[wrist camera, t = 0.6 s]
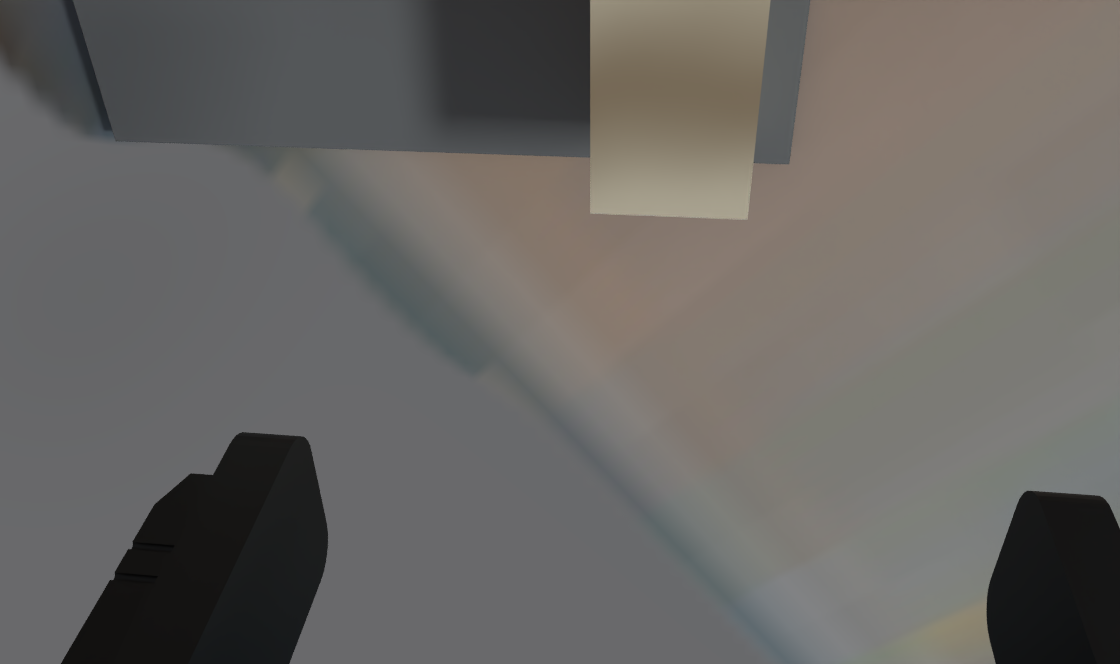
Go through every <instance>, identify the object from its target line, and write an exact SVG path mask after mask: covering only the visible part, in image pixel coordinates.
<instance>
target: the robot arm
mask: <svg viewBox="0 0 1120 664" xmlns="http://www.w3.org/2000/svg"><path fill="white" fill-rule="evenodd" d="M327 548H328V531H327V523H326V518H325V513H324V509H323V504H322V499H321V495H320V489H319V485H318V480H317V476H316V471H315V466H314V461H313V456H312V452H311V448H310V445H309V442H308V441H307V439H306V438H305V437H301V436H288V435H274V434H260V433H246V432H245V433H244V432H242V433H239V434H238V435H236V436H235V438H234V439H233V440H232V442H231V443H230V445H229V447H228V449H227V450H226V452H225V454H224V456H223V458H222V460H221V461H220V464H219V465H218V467H217V469H216V471H215V473H214V474H213V475H204V474H190V475H188V476H187V477H186V478H185V479H184V480H183V481H182V482H180V483H179V484H178V485H177V486H176V487H174V488H173V489H172V490H171V491H170V492H169V493H168V494H167V495H165V496H164V497H163V498H162V499H160V500H159V501H158V502H157V503H156V504H155V505H154V506H153V508H152V510H151V511H150V513H149V515H148V517H147V518H146V520H145V522H144V523H143V525H142V527H141V529H140V530H139V532H138V534H137V535H136V537H135V539H134V540H133V547H132V549H128V550H127V552H126V554H125V556H124V557H123V559H122V561H121V563H120V564H119V566H118V568H117V569H116V571H115V578H114V580H110V581H109V583H108V584H107V586H106V588H105V590H104V591H103V593H102V595H101V596H100V598H99V600H98V601H97V603H96V605H95V607H94V609H93V610H92V612H91V614H90V615H89V617H88V619H87V620H86V622H85V624H84V625H83V627H82V629H81V630H80V632H79V634H78V635H77V637H76V639H75V641H74V642H73V644H72V646H71V647H70V649H69V651H68V652H67V654H66V656H65V657H64V659H63V661H62V663H61V664H289V663H290V660H291V658H292V655H293V652H294V650H295V647H296V644H297V642H298V639H299V636H300V634H301V631H302V629H303V626H304V624H305V621H306V618H307V616H308V613H309V610H310V608H311V605H312V603H313V600H314V597H315V594H316V592H317V589H318V587H319V584H320V582H321V578H322V576H323V572H324V568H325V563H326V557H327ZM987 626H988V633H989V638H990V643H991V647H992V651H993V654H994V658H995V662H996V664H1120V528H1119V526H1118V524H1117V521H1116V519H1115V517H1114V514H1113V512H1112V510H1111V508H1110V506H1109V504H1108V503H1107V501H1106V500H1105V499H1104V498H1103V497H1101V496H1095V495H1081V494H1067V493H1053V492H1039V491H1026V492H1025V493H1024V494H1023V495H1022V496H1021V498H1020V499H1019V502H1018V504H1017V507H1016V510H1015V512H1014V515H1013V518H1012V521H1011V524H1010V526H1009V529H1008V532H1007V535H1006V538H1005V541H1004V543H1003V546H1002V549H1001V552H1000V555H999V557H998V560H997V563H996V566H995V569H994V571H993V574H992V577H991V580H990V584H989V589H988V595H987Z"/></svg>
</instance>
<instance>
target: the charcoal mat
mask: <svg viewBox="0 0 1120 664" xmlns="http://www.w3.org/2000/svg"><path fill="white" fill-rule="evenodd" d="M73 3H74V6H75V9H76V12H77V16H78V19H79V22H80V26H81V29H82V32H83V35H84V39H85V42H86V45H87V49H88V52H89V55H90V58H91V62H92V65H93V68H94V71H95V75H96V78H97V81H98V85H99V88H100V91H101V94H102V98H103V101H104V104H105V108H106V111H107V114H108V117H109V121H110V124H111V127H112V131H113V134H114V137H115V140H116V141H126V142H155V143H184V144H213V145H243V146H272V147H301V148H330V149H359V150H388V151H417V152H446V153H475V154H504V155H533V156H562V157H590V0H73ZM809 6H810V0H771V1H770V10H769V20H768V29H767V39H766V48H765V58H764V67H763V76H762V86H761V95H760V105H759V114H758V124H757V133H756V143H755V152H754V162H753V163H766V164H789V161H790V153H791V146H792V138H793V130H794V122H795V115H796V107H797V99H798V91H799V84H800V76H801V68H802V60H803V53H804V45H805V37H806V29H807V22H808V14H809Z"/></svg>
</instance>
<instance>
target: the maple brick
mask: <svg viewBox="0 0 1120 664" xmlns="http://www.w3.org/2000/svg"><path fill="white" fill-rule="evenodd" d="M770 1H771V0H590V213H591V214H616V215H641V216H666V217H692V218H717V219H742V220H747V218H748V209H749V199H750V190H751V181H752V171H753V162H754V152H755V143H756V133H757V124H758V114H759V105H760V95H761V86H762V76H763V67H764V58H765V48H766V39H767V29H768V20H769V10H770Z"/></svg>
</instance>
